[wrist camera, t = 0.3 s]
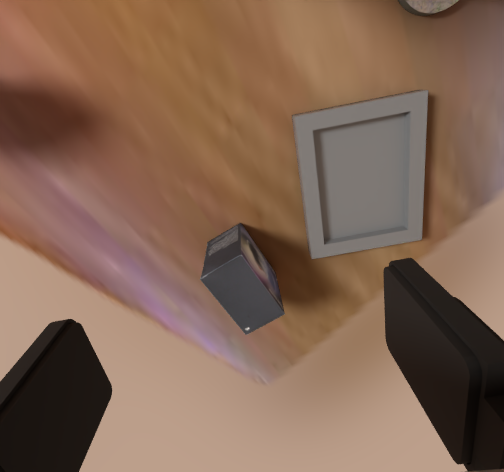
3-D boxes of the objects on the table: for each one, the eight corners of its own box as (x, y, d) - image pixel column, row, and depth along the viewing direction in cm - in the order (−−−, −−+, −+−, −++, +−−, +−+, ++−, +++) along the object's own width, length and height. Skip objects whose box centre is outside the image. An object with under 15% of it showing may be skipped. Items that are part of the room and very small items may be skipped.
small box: (279, 272, 51) (288, 315, 41) (244, 292, 52) (245, 337, 43) (242, 220, 47) (243, 254, 37) (205, 242, 48) (197, 280, 39)
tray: (291, 115, 41) (294, 116, 39) (418, 89, 40) (428, 90, 38) (308, 252, 49) (311, 259, 47) (414, 233, 49) (421, 239, 47)
